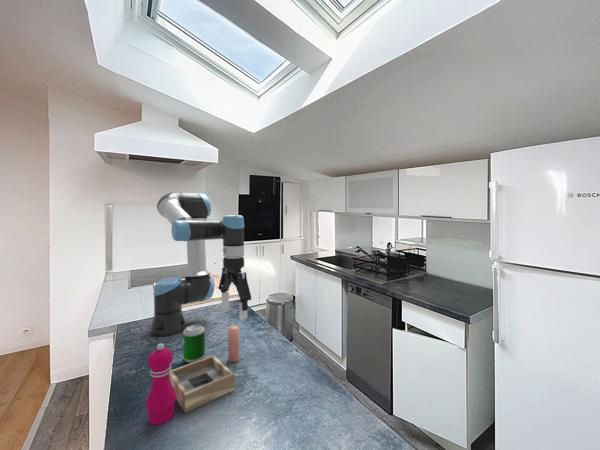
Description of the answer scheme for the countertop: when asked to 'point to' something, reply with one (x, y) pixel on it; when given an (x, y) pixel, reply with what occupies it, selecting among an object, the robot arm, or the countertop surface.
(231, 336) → the peg
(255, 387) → the countertop surface
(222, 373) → the box
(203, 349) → the soda can
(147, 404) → the pepper mill
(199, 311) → the countertop surface
